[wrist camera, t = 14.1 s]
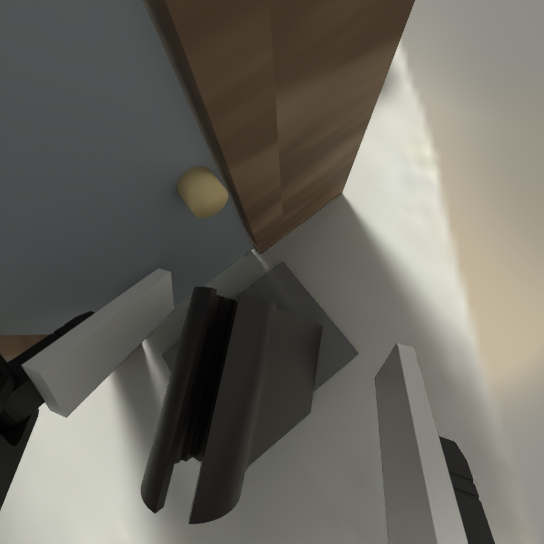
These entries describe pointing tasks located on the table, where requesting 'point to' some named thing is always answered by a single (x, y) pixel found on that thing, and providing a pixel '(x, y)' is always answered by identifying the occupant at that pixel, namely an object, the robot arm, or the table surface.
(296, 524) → the table surface
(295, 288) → the mat
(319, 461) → the table surface
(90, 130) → the door
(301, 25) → the door frame
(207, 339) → the phone stand
